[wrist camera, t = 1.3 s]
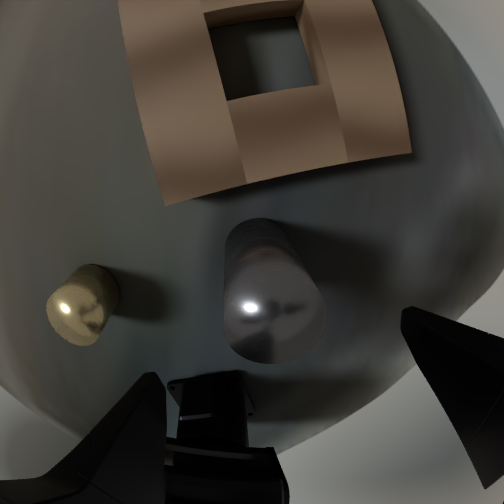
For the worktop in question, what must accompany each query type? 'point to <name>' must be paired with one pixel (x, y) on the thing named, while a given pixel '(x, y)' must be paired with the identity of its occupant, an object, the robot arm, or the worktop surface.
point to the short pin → (83, 305)
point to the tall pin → (269, 296)
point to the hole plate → (261, 105)
